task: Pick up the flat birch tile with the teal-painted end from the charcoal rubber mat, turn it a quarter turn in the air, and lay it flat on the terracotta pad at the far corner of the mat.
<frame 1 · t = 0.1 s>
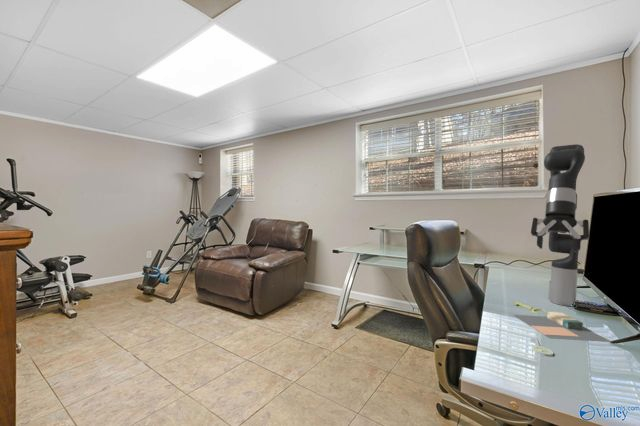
hand: (557, 249, 87), 31 cm above the table, tool tilted 20°, fingers open, 8 cm apart
mat: (557, 328, 100), on the table
sign: (539, 346, 88), on the table
key: (531, 311, 118), on the table
tile: (563, 323, 104), point 1 cm above the table, touching mat
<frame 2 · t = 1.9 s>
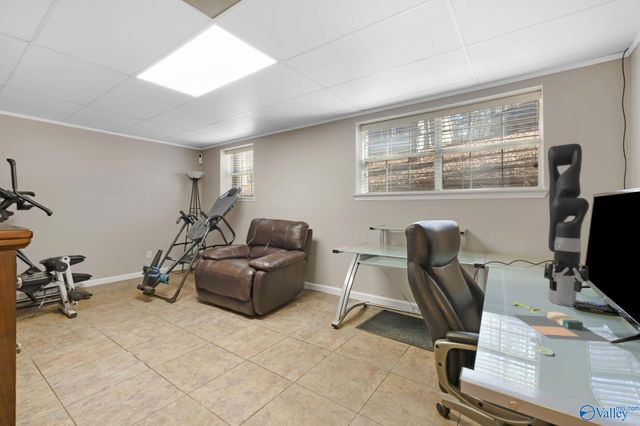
hand: (565, 291, 103), 13 cm above the table, tool pointing down, fingers open, 8 cm apart
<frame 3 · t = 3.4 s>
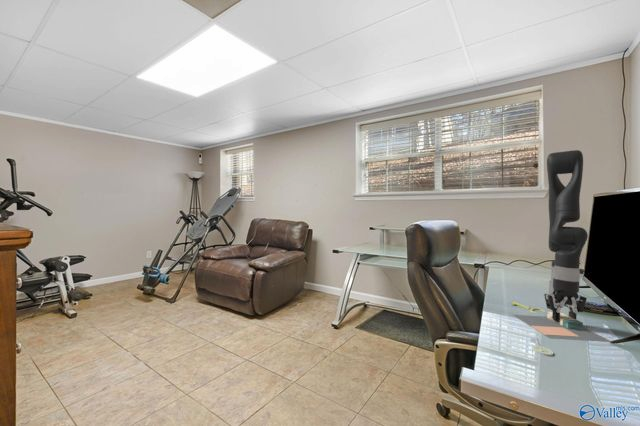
hand: (564, 321, 104), 1 cm above the table, tool pointing down, fingers closed on tile, 5 cm apart
tile: (563, 323, 104), point 1 cm above the table, touching gripper, mat
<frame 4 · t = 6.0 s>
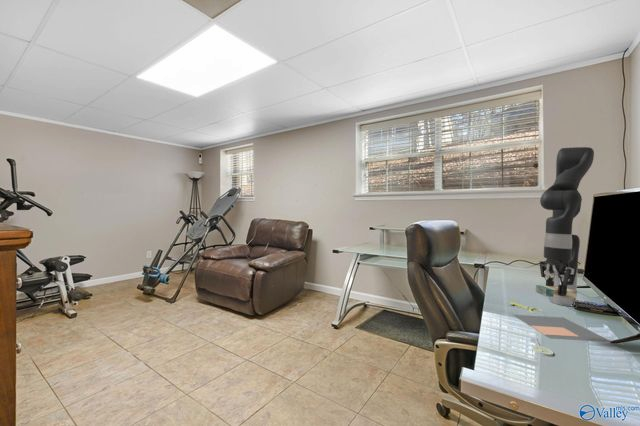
hand: (555, 292, 96), 14 cm above the table, tool pointing down, fingers closed on tile, 5 cm apart
tile: (555, 294, 96), point 14 cm above the table, touching gripper
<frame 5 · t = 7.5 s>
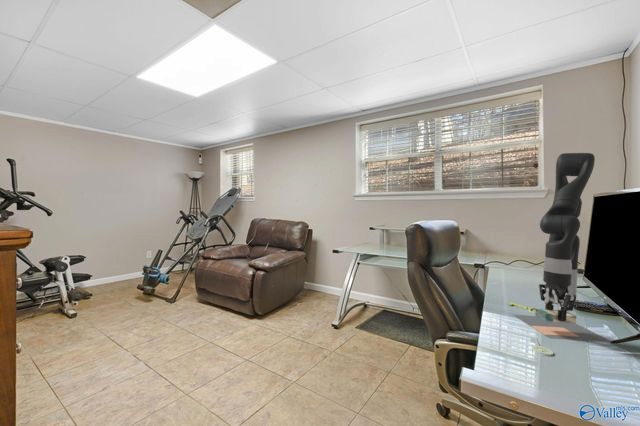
hand: (555, 317, 96), 6 cm above the table, tool pointing down, fingers closed on tile, 5 cm apart
tile: (555, 319, 96), point 5 cm above the table, touching gripper
when the fingers open (3 cm above the table, at t = 8.5 s): tile drops 1 cm, resting on mat.
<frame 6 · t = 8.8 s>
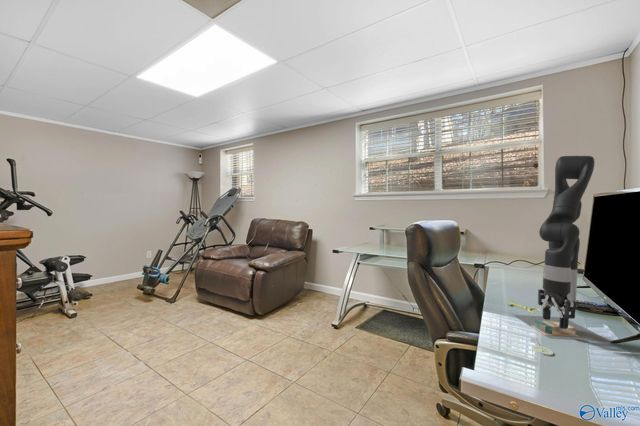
hand: (554, 323, 97), 3 cm above the table, tool pointing down, fingers open, 7 cm apart
tile: (554, 330, 97), point 1 cm above the table, touching mat
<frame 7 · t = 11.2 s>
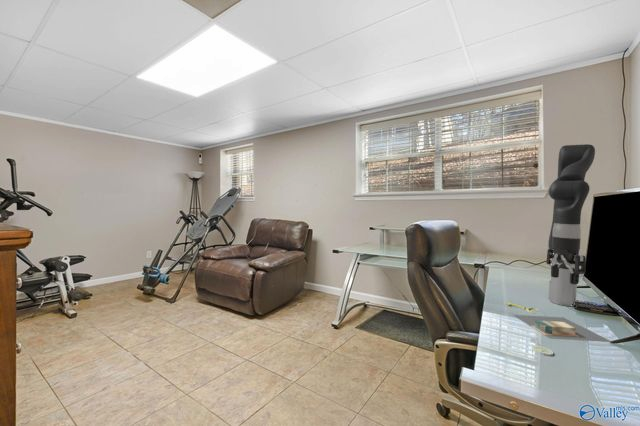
hand: (563, 280, 97), 19 cm above the table, tool pointing down, fingers open, 8 cm apart
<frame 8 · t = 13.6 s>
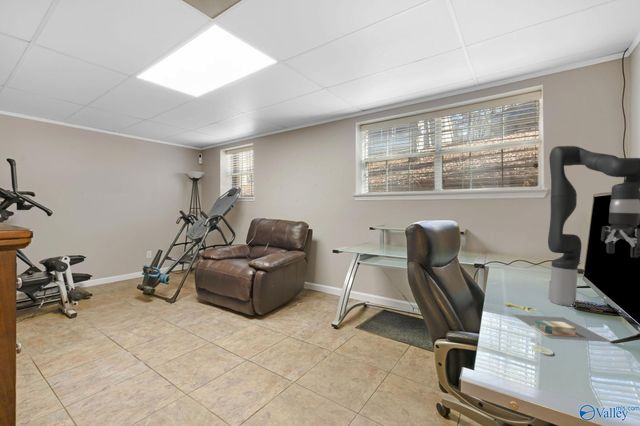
hand: (622, 255, 100), 28 cm above the table, tool pointing down, fingers open, 8 cm apart
at the end: tile 0.0 cm from the target spot, point 0.6 cm above the table; tile tilted 0°; the gripper is holding nothing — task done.
